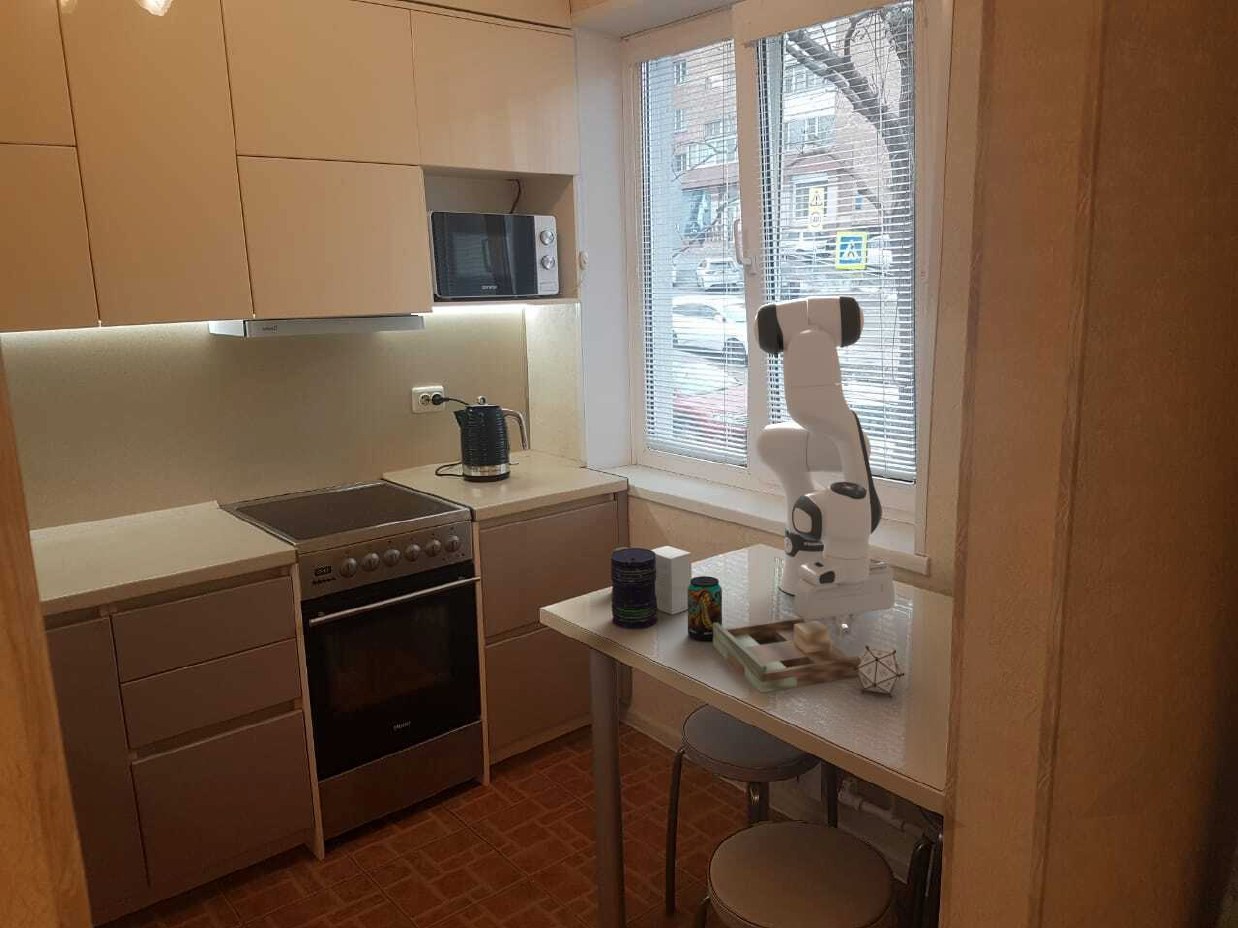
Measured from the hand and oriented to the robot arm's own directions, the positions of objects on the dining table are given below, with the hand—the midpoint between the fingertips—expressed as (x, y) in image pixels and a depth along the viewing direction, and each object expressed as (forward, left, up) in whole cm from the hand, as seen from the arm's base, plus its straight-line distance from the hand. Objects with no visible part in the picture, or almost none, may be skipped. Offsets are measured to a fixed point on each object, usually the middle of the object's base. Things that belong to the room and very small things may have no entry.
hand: (844, 634), depth 180 cm
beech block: (+7, 0, -1) cm, 7 cm away
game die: (+4, +18, -4) cm, 18 cm away
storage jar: (+34, -30, -4) cm, 45 cm away
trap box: (+13, 0, -3) cm, 14 cm away
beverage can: (+23, -17, -4) cm, 28 cm away
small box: (+24, -35, -4) cm, 42 cm away
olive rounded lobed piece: (+31, -47, -4) cm, 56 cm away
